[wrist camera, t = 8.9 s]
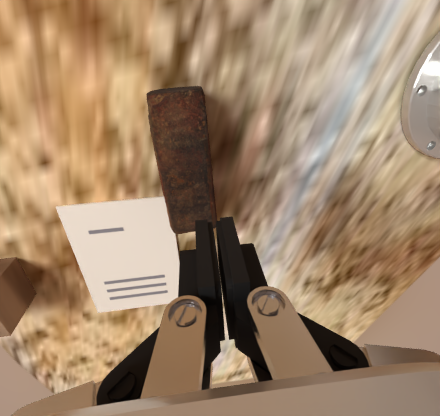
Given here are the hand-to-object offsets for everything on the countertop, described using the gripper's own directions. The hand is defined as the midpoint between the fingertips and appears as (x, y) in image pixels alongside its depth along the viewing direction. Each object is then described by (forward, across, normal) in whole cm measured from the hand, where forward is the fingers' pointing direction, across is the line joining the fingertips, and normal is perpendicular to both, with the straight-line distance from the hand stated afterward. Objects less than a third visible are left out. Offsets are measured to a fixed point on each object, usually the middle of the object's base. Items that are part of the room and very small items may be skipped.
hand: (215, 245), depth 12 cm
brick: (+13, +2, 0) cm, 13 cm away
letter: (+12, +8, +10) cm, 18 cm away
